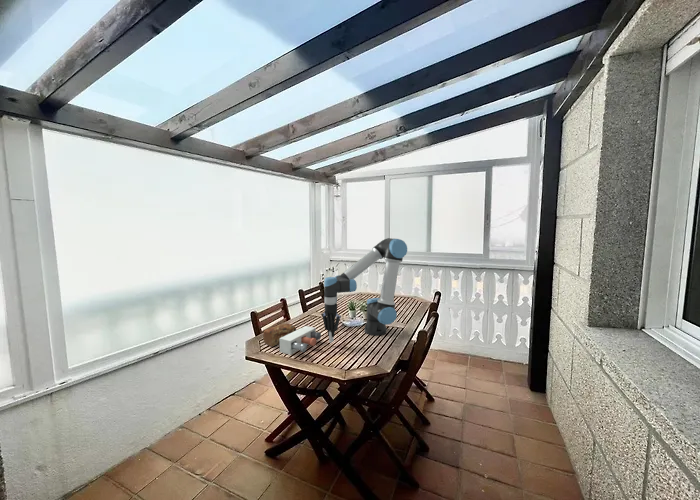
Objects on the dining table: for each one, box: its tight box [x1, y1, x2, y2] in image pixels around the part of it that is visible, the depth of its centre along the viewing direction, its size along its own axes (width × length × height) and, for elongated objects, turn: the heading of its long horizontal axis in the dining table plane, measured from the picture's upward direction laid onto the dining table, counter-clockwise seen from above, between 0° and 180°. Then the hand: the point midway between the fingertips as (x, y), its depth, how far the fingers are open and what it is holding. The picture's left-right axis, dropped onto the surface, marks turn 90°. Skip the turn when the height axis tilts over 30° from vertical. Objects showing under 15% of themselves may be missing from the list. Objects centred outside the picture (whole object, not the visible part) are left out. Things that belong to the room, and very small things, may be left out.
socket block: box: [279, 325, 317, 356], centre depth 174 cm, size 8×24×8 cm, turn 150°
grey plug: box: [311, 331, 322, 341], centre depth 180 cm, size 11×5×5 cm, turn 61°
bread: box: [262, 323, 297, 348], centre depth 182 cm, size 19×11×10 cm, turn 138°
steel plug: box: [291, 342, 308, 353], centre depth 163 cm, size 11×5×5 cm, turn 61°
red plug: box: [301, 337, 317, 347], centre depth 171 cm, size 11×5×5 cm, turn 61°
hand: (331, 341), depth 173 cm, fingers closed
